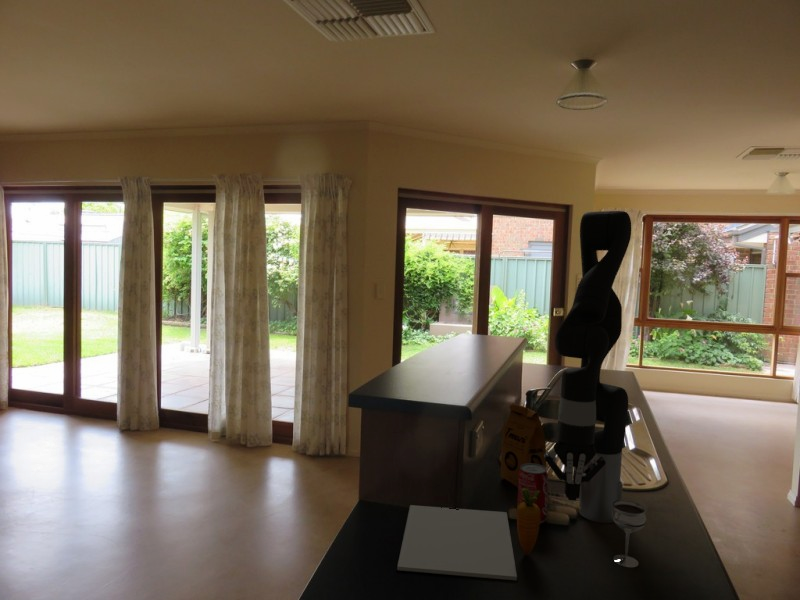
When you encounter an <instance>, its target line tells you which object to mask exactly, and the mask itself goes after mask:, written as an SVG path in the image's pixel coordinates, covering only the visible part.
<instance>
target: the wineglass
mask: <svg viewBox="0 0 800 600" xmlns="http://www.w3.org/2000/svg"><path fill="white" fill-rule="evenodd" d="M613 506H614V509H613V511H612V518H613V521H614V522H613V523H614V524H615V525H616V526H617V527H618V528H619V529H620V530H623V532H624V533H625V546H624V547H625V548H624V549H625V554H616V555H615V556H613V560H614V562H615V563H616V564H618V565H620V566H623V567H626V568H636V567H638V566H639V562H638V560H637V559H636V558H635V557H633V556H630V555H628V552H629V541H630V534H632V533H635V532H639V530H642V529H643V528H644V527H645V525H646V523H647V522H646V521H647V517H646V516H647V515H646V514H645V513H646V512H647V508H646V507H645V505H643V504H641V503H639V502H636V501H633V500H627V499H622V500H618V501H615V502H613Z"/></svg>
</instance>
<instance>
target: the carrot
mask: <svg viewBox="0 0 800 600" xmlns="http://www.w3.org/2000/svg"><path fill="white" fill-rule="evenodd" d="M522 493H523V496H524V498H522V500H523V501H524V502H523V503H521V504H520V505H518V507H517V506H516V507H517V508H516V528H517V536H518V541H519V545H520V548H521V549H522V551H523V554H524V555H525V556H529V555H530V554H531V552H532V551H533V549H534V547H535V545H536V543H537V539H538V535H539V531H540V525H541V524H540V514H541V513H540V509H539V507H538V506H537V505H536V504H534V501H535V500H537V496H538V495H539V493H540V491H539V490H537V491H536V492H535V494H534V496H533V498H531V495H530V492H529V490H528V489H526V490H525V488H523V489H522ZM527 495H528V496H527ZM528 498H529V500H528ZM531 499H532V501H531Z"/></svg>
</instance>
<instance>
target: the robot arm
mask: <svg viewBox="0 0 800 600" xmlns="http://www.w3.org/2000/svg"><path fill="white" fill-rule="evenodd" d="M631 238H632V220H631V216H630V214H629V213H628V212H626V211H623V210H606V211H605V210H601V211H587V212H584V213H583V214H582V216H581V219H580V224H579V244H580V245H579V246H580V260H581V275H582V277H581V279H580V281H579V283H578V285H577V288H576V291H575V295H574V298H573V302H572V306H571V308H570V310H569V311H568V313H567V314H566V316H565V318H564V320H563V321H562V322H561V324H560V325H559V327H558V328H557V331H556V334H555V337H554V348H555V350H556V351H557V353H558V354H559V355H561V356H562V357H566V358H573V359H581V361H580V367H576V368H575V367H574V368H572V367H571V368H567V369H565V370H564V371H563V372H562V375H561V385H560V399H559V404H558V414H557V417H558V418H557V431H556V442H555V443H554V445H553V449H551V450H550V451H549V452H547V451H546V452H545V453H544V458H545V460H546V462H547V464H548V466H549V467H550V468H551V470H552V472H554V474H555V475H556V477H557V479H558V480H560V481H564V495H565V497H566V498H567V499H568V501H573V502H574V501H577V499H579V502H578V504H579V506H580V507H581V510H582V512H581V511H580V509H578V512H579V514H580V516H582V517H583V518H584V519H587V520H588V521H591V522H595V523H600V524H610V523H614V521H613V518H612V511H613V509H614V506H613V502H615V501H618V500H623V499H622V498H623V482H622V481H621V474H622V458H623V457H622V456H623V446H624V445H623V444H624V441H625V437H626V430H627V429H626V428H627V427H626V426H627V419H628V413H629V411H628V410H629V396H628V392H627V391H626V390H625V388H624V387H620V386H616V385H612V384H608V383H602V382H601V368H602V366H603V363H604V360H605V359H606V357H607V355H608V354H609V353H610V352H611V350H612V349H613V347H614V346H615V345H616V343H617V342H618V340H619V338H620V336H621V333H622V326H623V325H622V323H623V321H622V320H623V318H622V317H623V310H622V309H623V307H622V303H621V301H620V299H619V297H618V295H617V293H616V291H615V290H614V289H613V284H614V283H615V281H616V280H615V279H616V277H617V275H618V273H619V270H620V267H621V265H622V263H623V260H624V258H625V255H626V254H627V251H628V247H629V245H630V241H631ZM598 251H607V252H606V253H605V254H604V255H603V257H602V258H601V259H600V260H598ZM596 421H598V422H602V423H604V424H603V425H604V426H603V429H602V430H596ZM556 456H557V457H558V459H559V460H560V462H561V463H562V465H563V466H564V471H562V469H561V468H560V467H559V466H558V464H557V458H556ZM579 506H578V507H579Z"/></svg>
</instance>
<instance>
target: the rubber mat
mask: <svg viewBox="0 0 800 600" xmlns="http://www.w3.org/2000/svg"><path fill="white" fill-rule="evenodd" d="M449 508H450V507H442V508H441V506H429V505H427V506H425V505H414V504H413V505H412V504H410V506H409V508H408V509H409V510H408V514H407V518H406V524H405V528H404V532H403V539H402V543H401V548H400V551H399V552H400V553H399V558H398V561H397V566H396V567H397V571H404V572H415V573H425V574H426V573H427V574H437V575H449V576H460V577H472V578H473V577H474V578H484V579H497V580H507V581H517V579H518V575H517V570H516V562H515V556H514V550H513V545H512V538H511V531H510V526H509V525H510V524H509V520H508V519H509V518H508V512H507V511H506V512H505V511H495V510H480V509H469V508H468V509H467V508H458V509H459V510H456V509H457V508H456V509H449Z"/></svg>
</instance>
